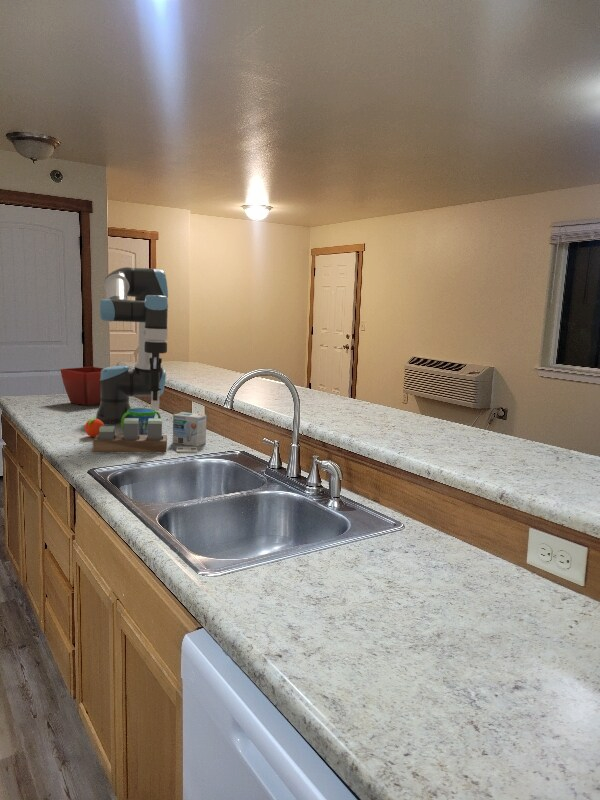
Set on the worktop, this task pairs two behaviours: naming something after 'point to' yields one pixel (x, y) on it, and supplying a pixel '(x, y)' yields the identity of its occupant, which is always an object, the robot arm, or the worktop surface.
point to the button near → (107, 432)
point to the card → (187, 449)
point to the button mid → (131, 428)
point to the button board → (129, 444)
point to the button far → (154, 429)
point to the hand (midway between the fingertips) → (155, 409)
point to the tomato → (93, 427)
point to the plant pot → (83, 385)
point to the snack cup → (140, 418)
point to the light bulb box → (189, 428)
